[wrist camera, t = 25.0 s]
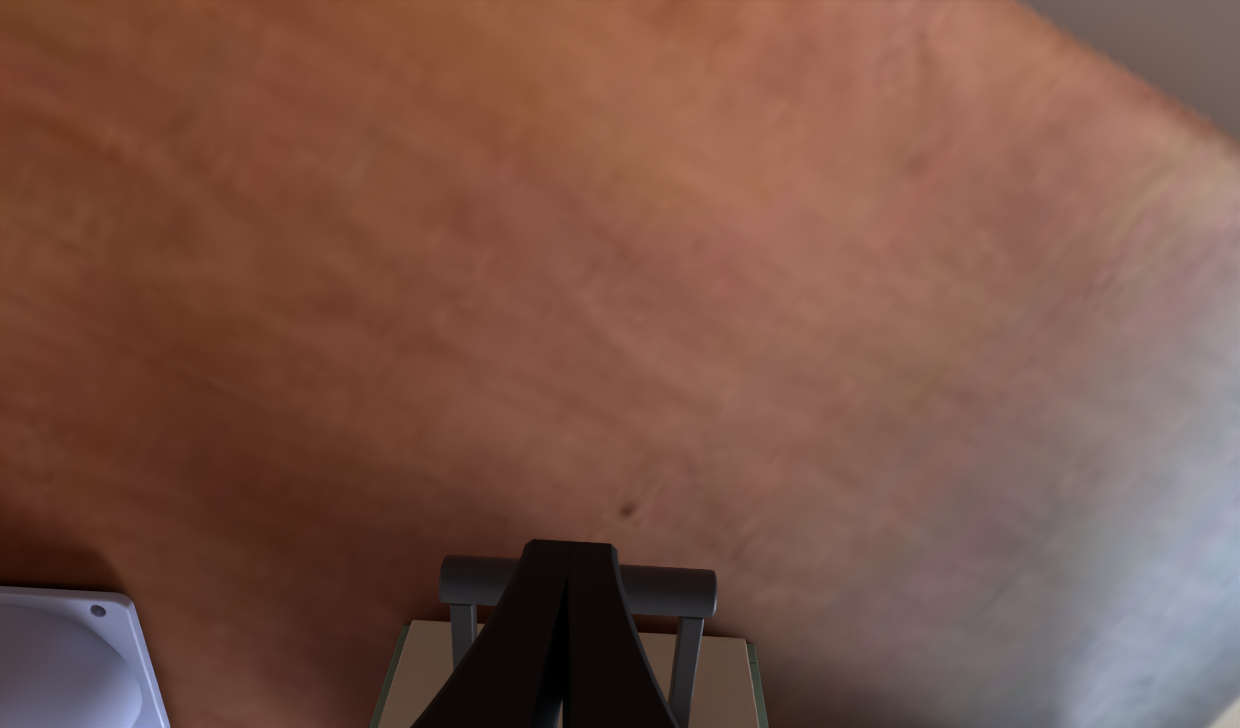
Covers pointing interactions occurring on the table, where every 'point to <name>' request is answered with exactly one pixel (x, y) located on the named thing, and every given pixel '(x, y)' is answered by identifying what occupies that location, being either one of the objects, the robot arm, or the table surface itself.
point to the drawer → (683, 664)
